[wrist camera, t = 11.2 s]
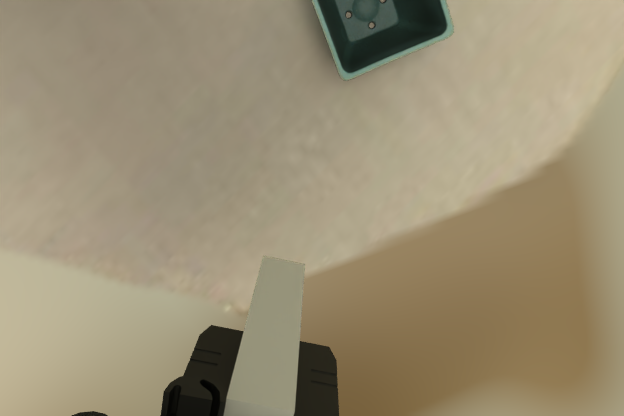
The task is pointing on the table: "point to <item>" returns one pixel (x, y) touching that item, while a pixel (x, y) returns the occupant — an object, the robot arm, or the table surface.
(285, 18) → the table surface
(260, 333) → the robot arm
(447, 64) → the table surface
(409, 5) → the flower pot
